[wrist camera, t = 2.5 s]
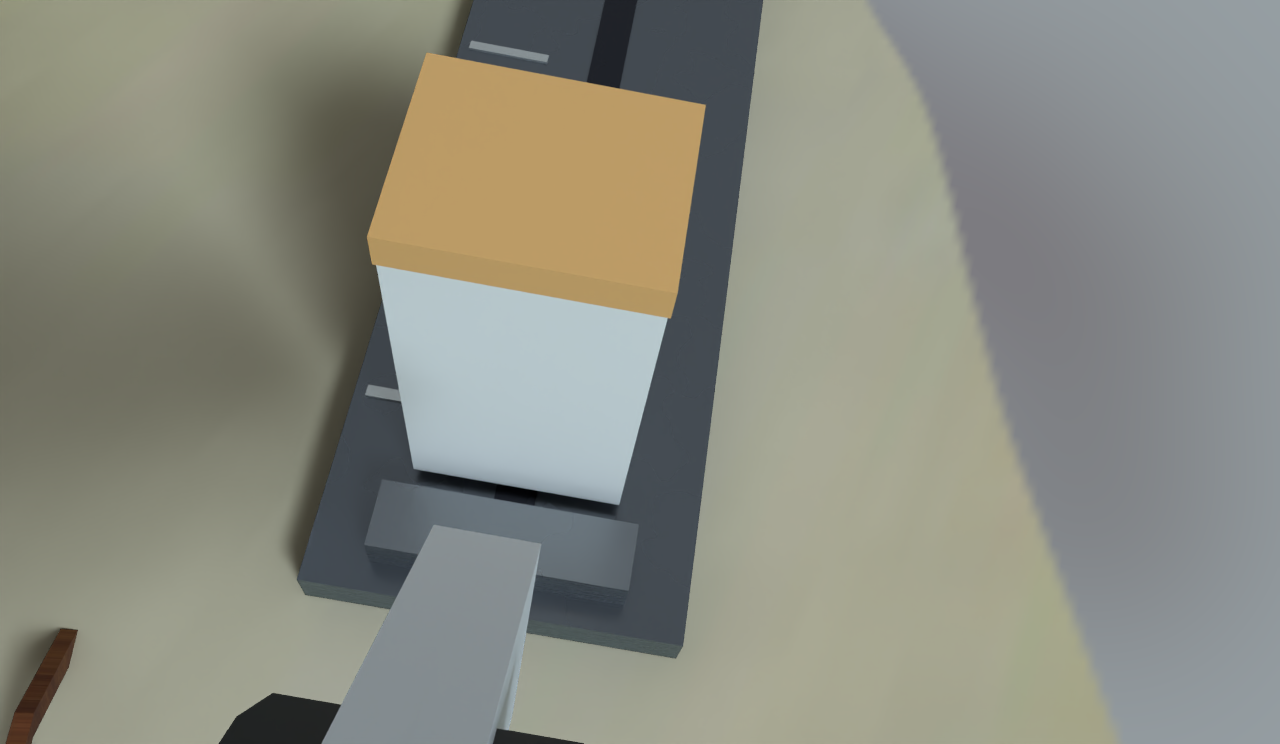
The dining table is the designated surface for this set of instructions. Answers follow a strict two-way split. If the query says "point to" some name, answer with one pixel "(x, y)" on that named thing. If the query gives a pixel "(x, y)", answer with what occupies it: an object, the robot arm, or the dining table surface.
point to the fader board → (680, 387)
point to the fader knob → (531, 270)
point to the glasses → (42, 689)
